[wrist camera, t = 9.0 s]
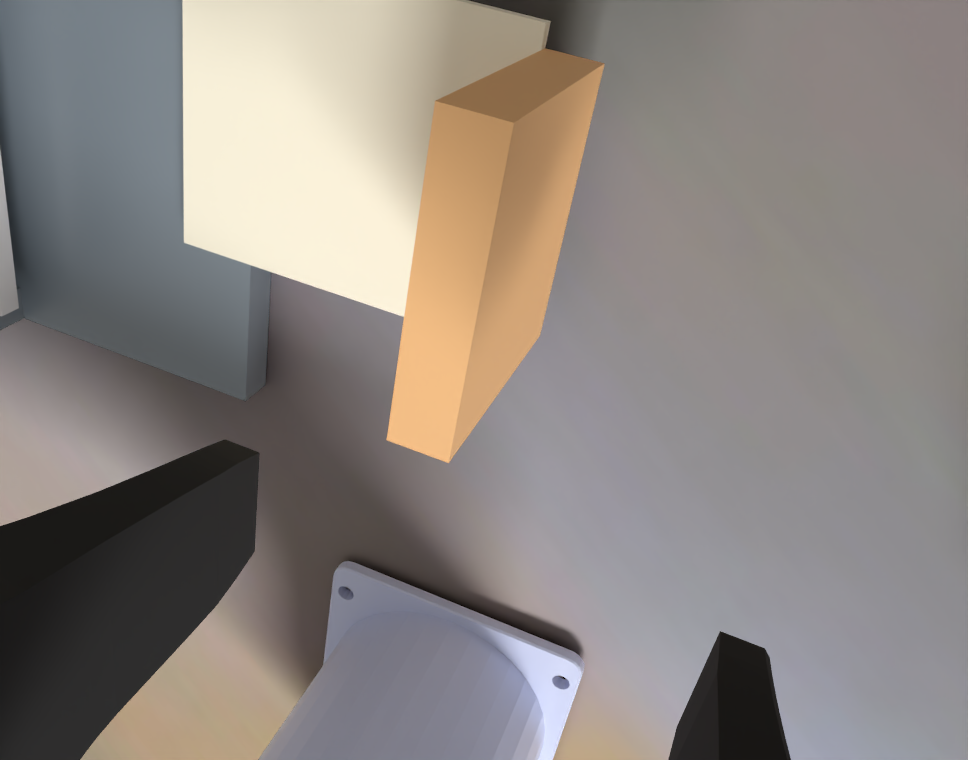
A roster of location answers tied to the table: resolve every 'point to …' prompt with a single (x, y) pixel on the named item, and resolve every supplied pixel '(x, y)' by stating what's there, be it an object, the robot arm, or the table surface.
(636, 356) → the table surface
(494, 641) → the robot arm
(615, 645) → the table surface
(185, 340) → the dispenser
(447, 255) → the two-tone bracket
